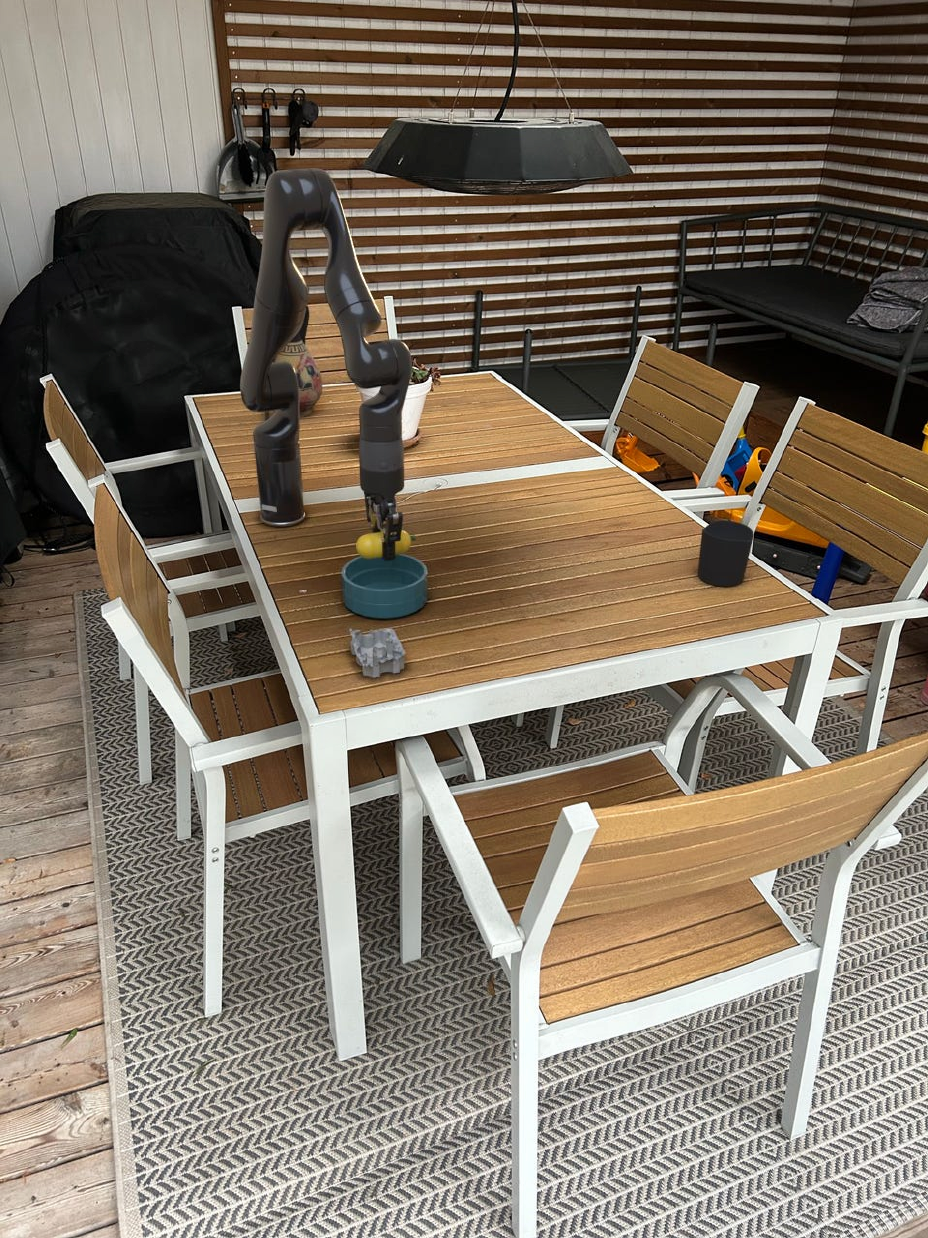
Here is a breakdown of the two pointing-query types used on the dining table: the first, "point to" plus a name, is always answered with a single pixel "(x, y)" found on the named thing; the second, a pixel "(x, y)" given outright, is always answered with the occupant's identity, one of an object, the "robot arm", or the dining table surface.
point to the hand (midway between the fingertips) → (384, 553)
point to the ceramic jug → (303, 369)
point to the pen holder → (724, 553)
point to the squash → (372, 545)
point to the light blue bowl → (384, 586)
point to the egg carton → (377, 651)
